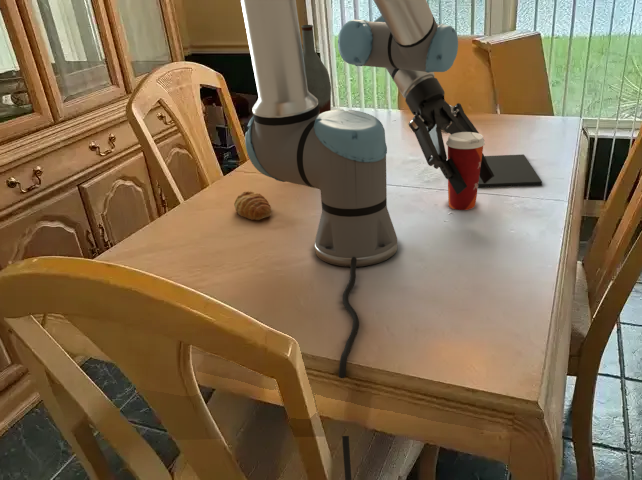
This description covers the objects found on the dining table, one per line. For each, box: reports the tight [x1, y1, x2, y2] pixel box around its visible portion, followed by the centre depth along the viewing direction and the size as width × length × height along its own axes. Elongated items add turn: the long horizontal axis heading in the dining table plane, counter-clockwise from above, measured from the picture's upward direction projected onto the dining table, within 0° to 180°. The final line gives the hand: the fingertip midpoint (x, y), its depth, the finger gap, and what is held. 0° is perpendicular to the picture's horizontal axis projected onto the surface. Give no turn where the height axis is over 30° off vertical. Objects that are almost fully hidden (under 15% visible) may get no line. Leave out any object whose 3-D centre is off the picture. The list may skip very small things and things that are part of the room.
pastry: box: [233, 190, 273, 221], centre depth 130 cm, size 9×7×4 cm
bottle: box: [301, 24, 332, 114], centre depth 153 cm, size 9×9×30 cm
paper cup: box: [445, 132, 486, 211], centre depth 126 cm, size 8×8×14 cm
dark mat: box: [478, 153, 543, 189], centre depth 145 cm, size 20×14×1 cm
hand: (475, 184), depth 125 cm, fingers closed on paper cup, 8 cm apart
